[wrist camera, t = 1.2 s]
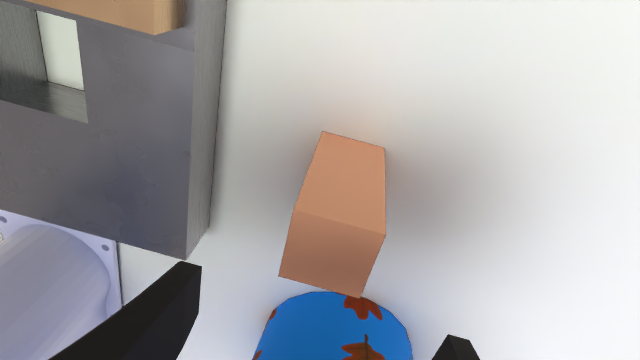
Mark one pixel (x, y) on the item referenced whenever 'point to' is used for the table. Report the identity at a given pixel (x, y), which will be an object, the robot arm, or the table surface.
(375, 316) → the thermos
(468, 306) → the table surface
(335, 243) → the light brown rectangular block
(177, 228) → the bracket plate
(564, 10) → the table surface
